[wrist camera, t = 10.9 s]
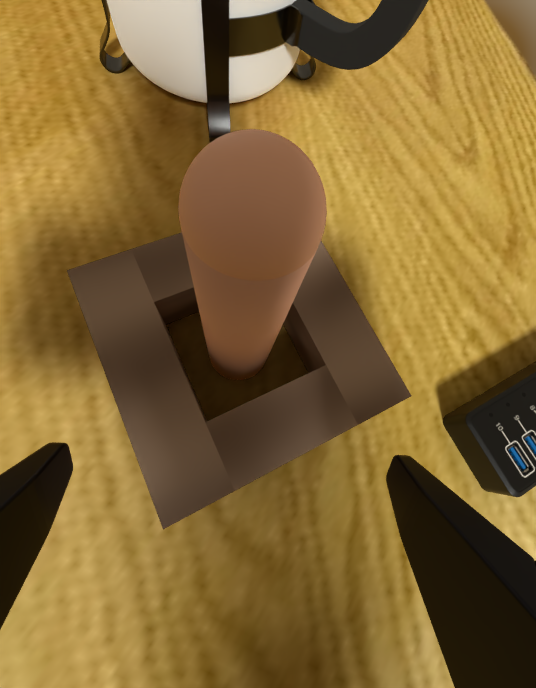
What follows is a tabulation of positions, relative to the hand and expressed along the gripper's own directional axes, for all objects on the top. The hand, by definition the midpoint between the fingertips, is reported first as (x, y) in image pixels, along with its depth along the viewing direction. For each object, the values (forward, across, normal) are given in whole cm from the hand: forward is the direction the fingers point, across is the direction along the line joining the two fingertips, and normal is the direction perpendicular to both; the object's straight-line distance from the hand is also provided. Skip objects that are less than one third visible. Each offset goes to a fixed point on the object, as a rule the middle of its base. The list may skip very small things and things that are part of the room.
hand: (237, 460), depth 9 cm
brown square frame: (+9, 0, +2) cm, 9 cm away
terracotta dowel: (+9, 0, +2) cm, 9 cm away
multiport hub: (+9, -19, +3) cm, 21 cm away
